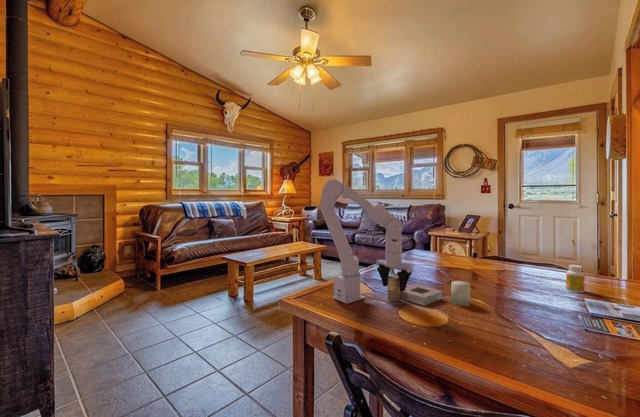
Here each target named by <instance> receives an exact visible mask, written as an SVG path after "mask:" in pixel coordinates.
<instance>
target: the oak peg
mask: <svg viewBox="0 0 640 417" xmlns="http://www.w3.org/2000/svg"><path fill="white" fill-rule="evenodd" d="M399 289H400V288H399V278H398V277H396V276H394V275H389V277H388V286H387V301H390V302H400V298H399Z"/></svg>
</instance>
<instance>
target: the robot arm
mask: <svg viewBox="0 0 640 417" xmlns="http://www.w3.org/2000/svg"><path fill="white" fill-rule="evenodd" d="M320 195H321V196H320V202H319V211H320V212H321V215H322V217H323V219H324V222H325V224H326V226H327V229H328V231H329V234H330V236H331V238H332V240H333V243H334V245H335V248H336V250H337V253H338V257H339V260H340V264H341V265H340V270H341V271H340V275H339V276H337V277H335V278H334V280H333V296H332V299H334V300H337V301H339V302H342V303H344V304H346V305H347V304H351V303H353V302H358V301H360V300H364V299H366V296H364V295H361V272H360V271H359V269H360V266H359V263H360V260H359V257H358V256H357V255H356V254H354V252H353V249H352V248H351V246H350V244H349V241H348V239H347V237H346V234H345V231H344V230H343V227H342V225H341V222H340V219H339V217H338V215H337V212H336V210H335V208H334V207H335V205H336V203H337V200H338V199H339V197H341V198H346V199H349V200H352V201H353V202H354V203H356V205H358V206H359V207H361V208H363V210H365V211H366V214H367V217H368V218H369V219H370V220H372V221H373V222H375V223H376V224H377V225H379V226H380V227H382V228H383V227H384V229H385V259H376V266H377V267H376V270H377V272H378V274H379V276H380V279H381V283H382V286H383V287H388V277H389V276H390V272H389V271H390V268H394V270H399V271H397V272H396V273H397V274H398V278H399V289H400V291H401V292H402V291H405V288H406V287H407V284H408V281H409V279H410V277H411V275H412V273H413V266H412V265H408V264H407V263H404V262H403V244H402V242H403V241H402V240H403V238H402V236H403V235H402V232H403V230H404V225H403V223H402V220H400V219H398V218H397V217H396V216H395V214H394V213H391V212H389V211H388V210H387V209H385V208H384V207H385V206H384V205H383V204H379V203H371V202H370V201H369V200H367V198H365V197H363V195H361V194H360V193H359V192H358V191H356V190H355V189H354V188H353V187H350V186H349V185H346V184H345V183H343V182H341V181H340V180H338V179H336V178H332V179H328V180H327V181H326V182H325V184H324V186H323V187H322V189H321V194H320Z"/></svg>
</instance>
